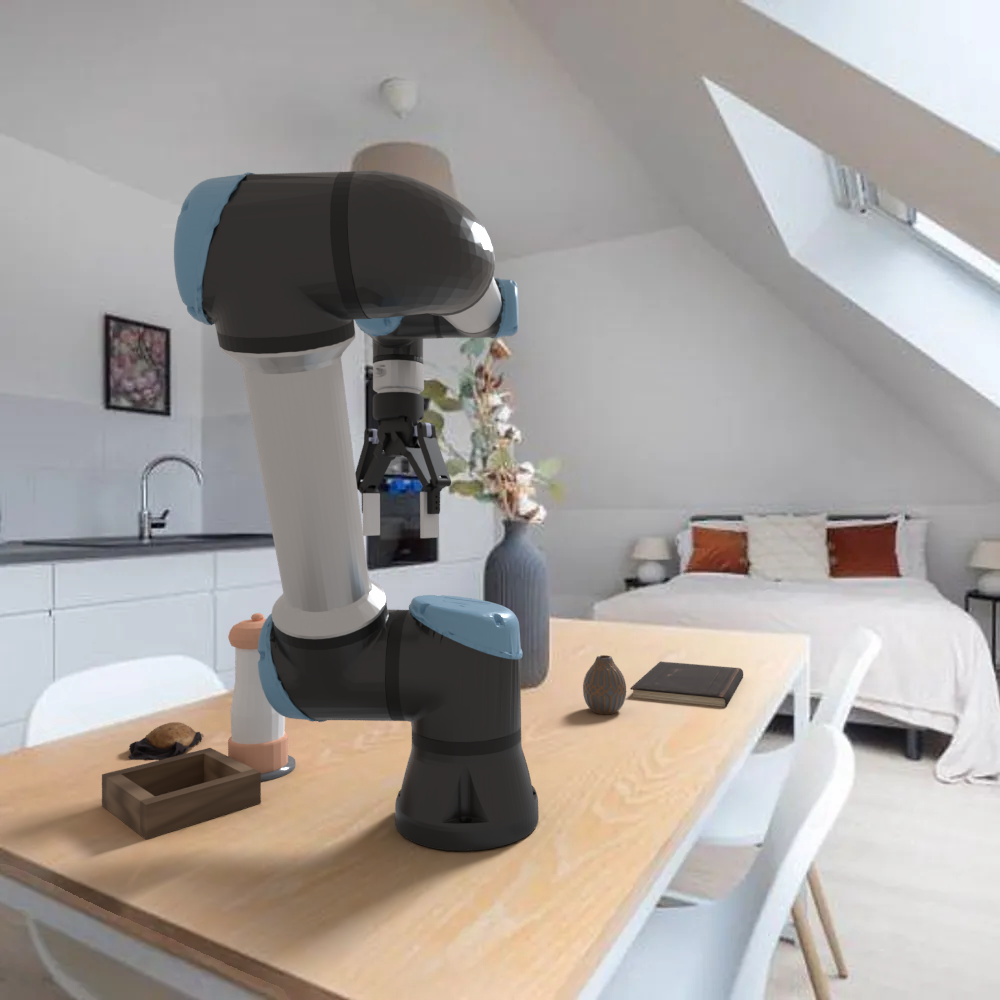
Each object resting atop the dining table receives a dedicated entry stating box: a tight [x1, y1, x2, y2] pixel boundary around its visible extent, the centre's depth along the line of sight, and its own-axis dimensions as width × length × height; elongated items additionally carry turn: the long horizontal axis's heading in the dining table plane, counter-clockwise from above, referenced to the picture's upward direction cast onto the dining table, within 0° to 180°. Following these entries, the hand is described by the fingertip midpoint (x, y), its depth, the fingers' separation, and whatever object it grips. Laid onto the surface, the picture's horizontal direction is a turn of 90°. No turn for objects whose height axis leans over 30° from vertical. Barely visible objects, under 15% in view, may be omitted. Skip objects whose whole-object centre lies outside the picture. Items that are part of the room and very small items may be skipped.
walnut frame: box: [101, 747, 262, 840], centre depth 84 cm, size 12×12×4 cm
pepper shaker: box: [227, 612, 289, 773], centre depth 95 cm, size 7×7×19 cm
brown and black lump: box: [127, 721, 205, 761], centre depth 105 cm, size 11×8×4 cm
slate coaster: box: [261, 754, 296, 782], centre depth 95 cm, size 9×9×1 cm
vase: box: [582, 654, 627, 715], centre depth 121 cm, size 7×7×9 cm
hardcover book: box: [629, 661, 744, 708], centre depth 136 cm, size 16×23×2 cm
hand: (399, 536), depth 111 cm, fingers open, 13 cm apart
